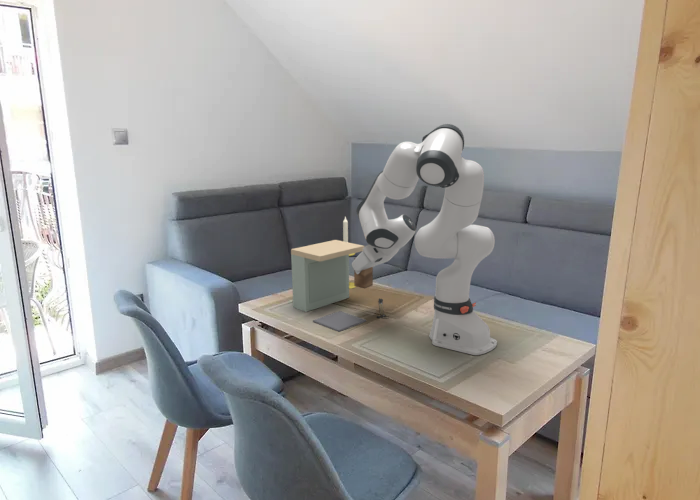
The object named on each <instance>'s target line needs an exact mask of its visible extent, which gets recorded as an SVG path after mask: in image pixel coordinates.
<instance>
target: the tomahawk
mask: <svg viewBox="0 0 700 500" xmlns="http://www.w3.org/2000/svg"><path fill="white" fill-rule="evenodd" d="M383 301H384V299H383V298H378V307H379V313H380V314H379V315H376V319H386V320H387V319H389V316H387V315H386V314H384V304H383Z"/></svg>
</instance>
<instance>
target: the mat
mask: <svg viewBox="0 0 700 500" xmlns="http://www.w3.org/2000/svg"><path fill="white" fill-rule="evenodd" d="M366 322H367V319H365V318H362V317H359V316H356V315H354V314H351V313H348V312H345V311H342V310H338V311H336V312H333V313H330V314H328V315H323V316H321V317H318V318H316V319H315V318H314V319H313V320H312V323H314V324H318V325H320V326H322V327H326V328H328V329H330V330H332V331H335V332H337V333H338V332H339V333H341V332H342V331H344V330H347V329H350V328H352V327H355V326H357V325H361V324H363V323H366Z"/></svg>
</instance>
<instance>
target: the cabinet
mask: <svg viewBox="0 0 700 500" xmlns="http://www.w3.org/2000/svg"><path fill="white" fill-rule="evenodd" d="M364 247H365V245H362V244H358V243H353V242H349V241H348V242H344V241H343V240H339V239H332V240H329V241H324V242H319V243H315V244H314V243H313V244H308V245H306V246H298V247H295V248H291V250H290V255H291V256H290V257H291V258H290V259H291V283H292V284H291V285H292V307H293V308H294V309H297V310H299V311H302V312H305V313H308V312H310V311H312V310H317V309H319V308H323V307H325V306H328V305H331V304H333V303H337V302H340V301H343V300H347V299H348V298H350V289H349V282H350V256H349V254H353V253H355V254H356V253H361V252H362V251H363V248H364Z"/></svg>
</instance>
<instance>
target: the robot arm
mask: <svg viewBox="0 0 700 500" xmlns="http://www.w3.org/2000/svg"><path fill="white" fill-rule="evenodd" d="M421 141H422V142H420V143H415V142H413V141H402V142H400V143H398V144H397V145H396V147H394V149H393V150H392V152H391V153H390V155H389V156H388V159H387V161H386V164H385V166H384V167H383V170H382V171H380V172H379V173H378V174H377V176H376V178H375V179H374V181H373V183H372V185H371V186H370V189H369V190H368V192H367V194H366V196H365V197H364V199H362V200H361V202H360V203H359V204H358V205H357V208H356V215H357V218H358V221H359V223H360V225H361V229H362V232H363V235H364V238H365V240H366V243H367V244H366V245H364V248H363V251H361V252H359V254H358V255H357V256H356V257H355V258H356V259H355V260H354V259H353V261H352V262H351V267H352V269H353V270H355V272H356V274H360V273H361V272H362V270H365V269H368V268H371V267H373V268H374V267H376V266H380V265H382V264H384V263H387V262H389V261H390V260H391V259H392V258H393V257H395V256H396V255H397V254H398V252H399V251H400V249H401V248H403V247H405V246H406V244H408V243H409V241H410V240H411V239H412V238H413V237H414V247H415V250H416V251H417V253H418V254H419V255H420V256H421V257H425V258H429V259H430V258H431V259H454V260H453V262H451V264H450V265H448V266H446V267H445V268H443V269H441V270H440V271H439V272H438V273H437V275H436V276H435V296H434V297H433V308H434V313H433V321H432V324H431V329H430V332H429V339H430V340H431V343H432V345H433V346H436V347H440V348H444V349H446V350H447V349H448V350H452V351H456V352H460V353H463V354H469V355H473V356H479V355H484V354H486V353H489V352H491V351H493V350H494V349H495V348H496V347H497V345H498V341H497V339H495V338H493V337H491V330H490V327H489V325H488V324H487V322H485V321H484V319H482V318H481V317H480V316H479V315H478V314H477V313H476V312H475V311H474V307H476V306H477V305H476V304H477V302H473V303H472V301H471V298H470V290H471V289H470V288H471V281H472V276H473V273H474V271H475V270H476V268H477V267H478V265H479V264H480V263H481V261H483V260H484V259H485V258H486V257H488V256H490V255H491V254H492V252H493V250H494V247H495V246H496V244H495V243H496V241H495V239H496V238H495V235H494V233H493V231H492V229H491V228H489V227H487V226H483V225H479V224H474V222H475V221H477V219H478V216H479V213H480V208H481V203H482V199H483V195H484V185H485V176H484V175H485V172H484V168H483V166H481V164H479V163H478V162H476V161H475V160H471V159H466V158H464V157H463V156H462V152H463V151H464V147H465V137H464V134H463V132H462V130H461V129H460V128H459V127H458V126H456V125H454V124H451V123H445V124H444V123H443V124H441V125H439V126H436V128H434V129H432V130H431V131H430V132H429V133H427V134H426V135H424V136H423V137H422V140H421ZM419 180H420V181H421V182H422V183H424V184H426V185H429V186H431V187H438V188H441V189H442V188H443V189H444V196H443V200H442V204H441V207H440V211H439V212H438V214H437V215H436V217H434V218H433V219H432V221H430V222H429V223H427V224H425V225H423V226H422V227H420V228H419V229H418V230H417V228H416V224H415V222H414V220H413V219H412V218H411V217H410V216H409V215H407V214H401V215H400V216H398V217H396V218H392V219H389V218H388V215H387V212H386V208H385V203H384V202H385V200H386V198H388V199H391V200H403V199H406V198H408V197H410V195H411V194H412V193H413V192H414V190H415V188H416V187H417V184H418V181H419ZM416 231H417V232H416Z"/></svg>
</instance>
